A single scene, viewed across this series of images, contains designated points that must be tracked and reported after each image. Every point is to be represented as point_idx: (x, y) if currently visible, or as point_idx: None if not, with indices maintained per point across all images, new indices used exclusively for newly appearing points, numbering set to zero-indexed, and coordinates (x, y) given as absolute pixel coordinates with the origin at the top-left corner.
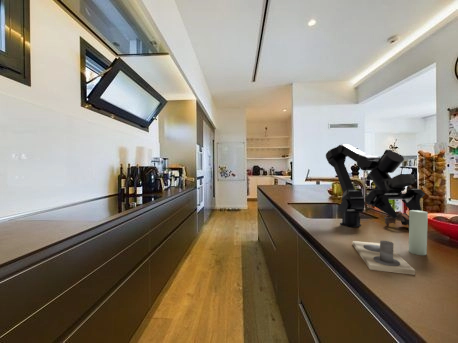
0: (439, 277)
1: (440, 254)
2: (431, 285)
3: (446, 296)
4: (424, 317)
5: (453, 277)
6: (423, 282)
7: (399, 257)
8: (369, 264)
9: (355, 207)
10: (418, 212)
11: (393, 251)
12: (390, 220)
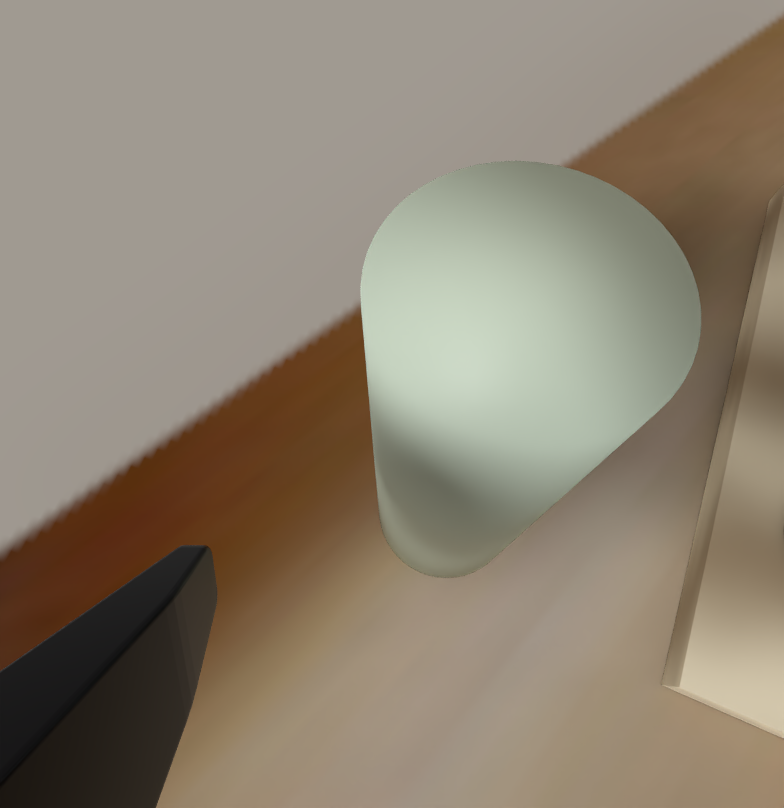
0: (647, 169)
1: (274, 452)
2: (760, 116)
3: (763, 51)
4: None
5: (567, 162)
6: (780, 139)
7: (765, 346)
8: None
9: None
10: (610, 216)
11: (736, 463)
12: None
